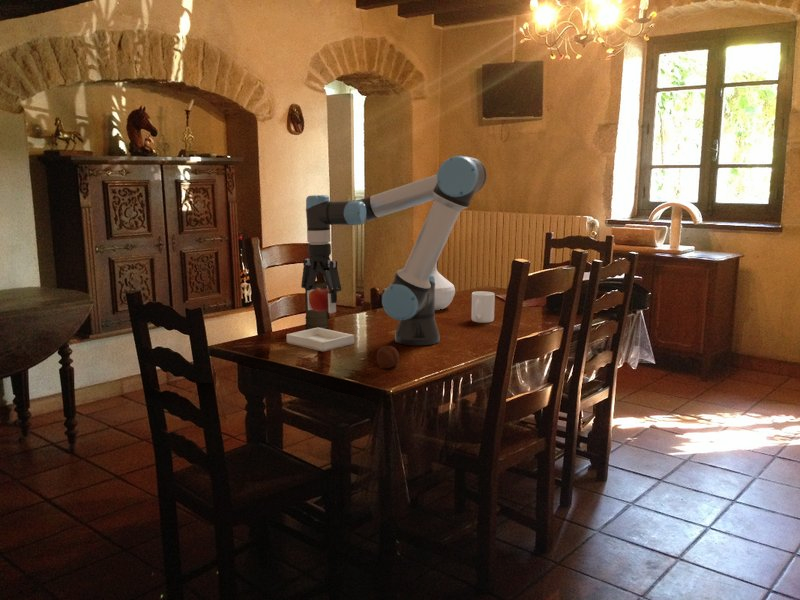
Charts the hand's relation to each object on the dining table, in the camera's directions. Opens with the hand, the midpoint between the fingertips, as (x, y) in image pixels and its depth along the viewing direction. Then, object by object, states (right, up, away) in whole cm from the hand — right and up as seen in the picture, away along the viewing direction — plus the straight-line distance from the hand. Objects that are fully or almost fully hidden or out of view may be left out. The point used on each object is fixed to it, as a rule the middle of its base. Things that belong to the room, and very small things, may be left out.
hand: (321, 310), depth 233 cm
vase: (+40, 0, +63) cm, 74 cm away
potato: (+22, -16, -26) cm, 38 cm away
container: (-4, -8, +19) cm, 21 cm away
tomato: (0, 0, 0) cm, 1 cm away
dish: (-1, -11, +2) cm, 11 cm away
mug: (+57, -5, +36) cm, 67 cm away
